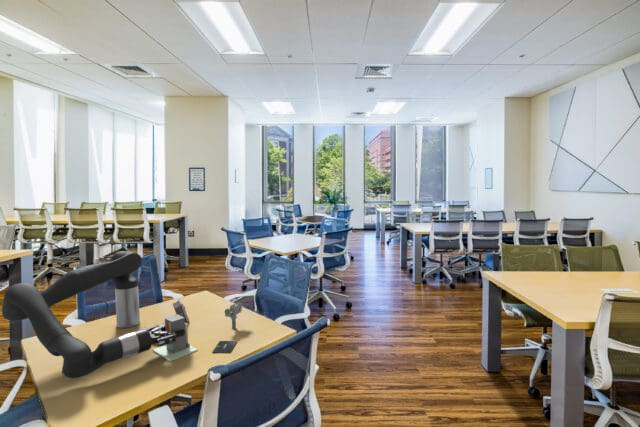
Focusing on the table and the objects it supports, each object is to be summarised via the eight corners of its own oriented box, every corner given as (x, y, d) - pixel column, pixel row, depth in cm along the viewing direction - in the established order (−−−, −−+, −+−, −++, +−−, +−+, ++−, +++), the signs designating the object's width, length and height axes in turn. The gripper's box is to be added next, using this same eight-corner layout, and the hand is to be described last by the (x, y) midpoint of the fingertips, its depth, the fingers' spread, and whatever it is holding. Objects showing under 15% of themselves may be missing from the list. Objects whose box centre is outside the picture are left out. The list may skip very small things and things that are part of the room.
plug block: (166, 349, 132) (164, 318, 131) (179, 344, 136) (177, 314, 135) (173, 353, 128) (171, 321, 127) (186, 348, 132) (184, 317, 131)
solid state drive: (212, 354, 129) (211, 352, 129) (219, 342, 139) (219, 340, 139) (230, 354, 129) (230, 352, 129) (237, 342, 139) (237, 340, 139)
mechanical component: (223, 332, 148) (223, 309, 148) (238, 323, 158) (237, 301, 157) (229, 333, 147) (229, 310, 147) (243, 324, 157) (243, 302, 156)
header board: (152, 350, 132) (151, 326, 131) (180, 341, 140) (179, 317, 139) (168, 361, 123) (167, 335, 123) (197, 350, 132) (196, 326, 131)
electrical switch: (189, 322, 160) (186, 302, 159) (177, 325, 158) (174, 305, 157) (186, 316, 168) (183, 297, 167) (174, 319, 166) (171, 300, 165)
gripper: (141, 338, 115) (188, 323, 128) (125, 327, 125) (169, 314, 137) (142, 360, 116) (188, 343, 128) (126, 348, 125) (170, 333, 137)
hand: (178, 328), depth 132 cm, fingers open, 8 cm apart
